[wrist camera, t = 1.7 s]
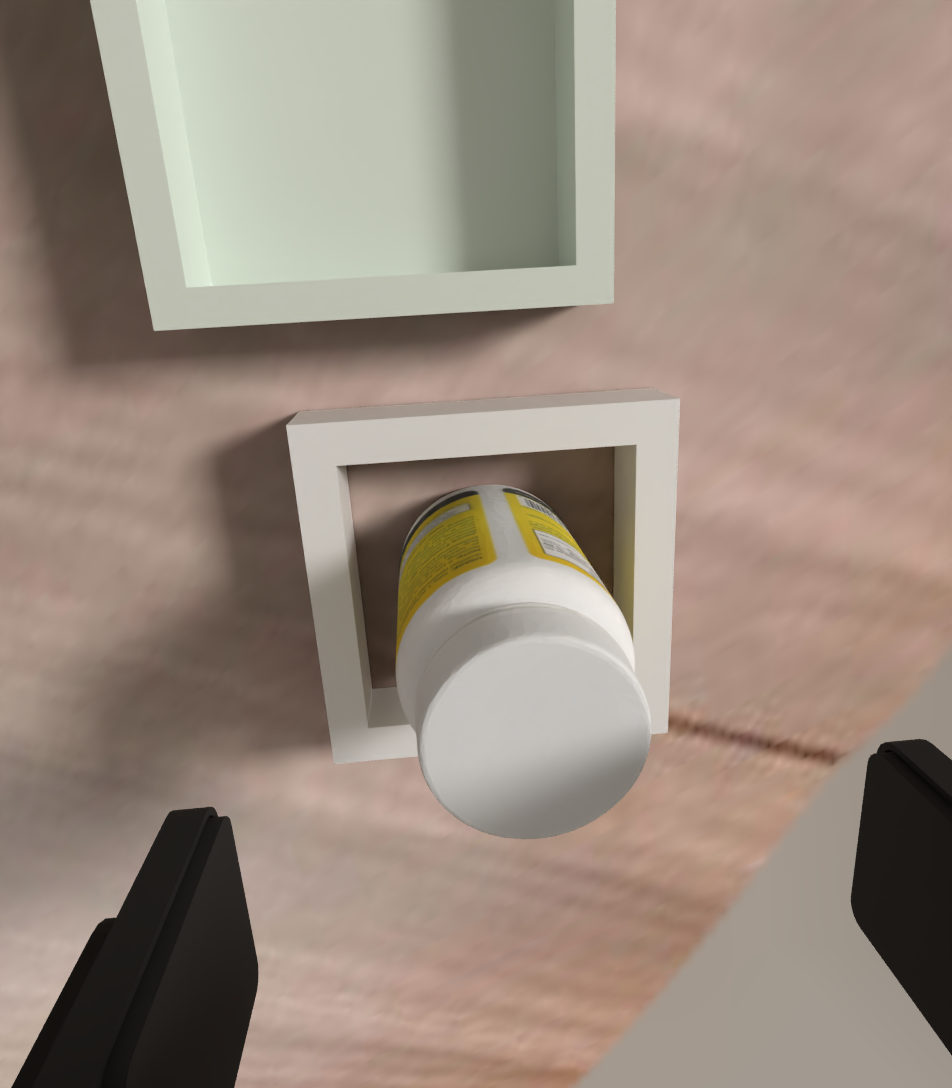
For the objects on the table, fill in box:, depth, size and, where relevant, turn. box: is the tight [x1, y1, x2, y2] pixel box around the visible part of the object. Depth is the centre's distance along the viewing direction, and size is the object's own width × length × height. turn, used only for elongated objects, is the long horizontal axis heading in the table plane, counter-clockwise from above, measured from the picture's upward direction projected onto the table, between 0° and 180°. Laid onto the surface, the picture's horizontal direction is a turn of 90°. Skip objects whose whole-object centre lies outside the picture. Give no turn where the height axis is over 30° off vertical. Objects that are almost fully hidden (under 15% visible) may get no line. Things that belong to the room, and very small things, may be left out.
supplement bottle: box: [396, 484, 651, 839], centre depth 16 cm, size 5×5×8 cm
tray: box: [90, 0, 616, 331], centre depth 15 cm, size 10×10×2 cm
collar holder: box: [286, 388, 680, 764], centre depth 19 cm, size 9×9×2 cm
